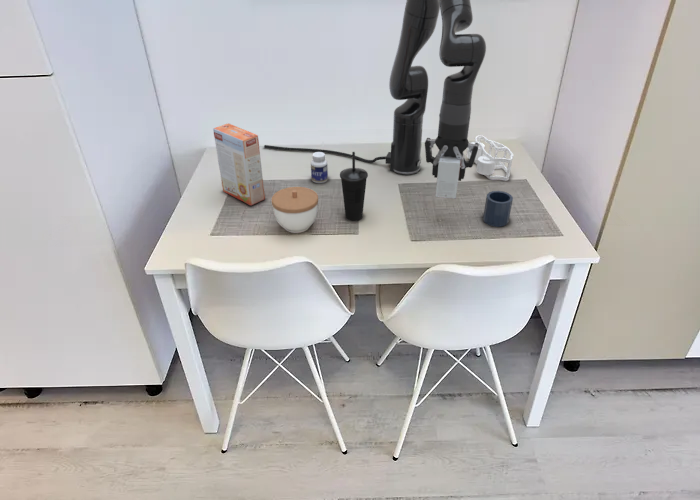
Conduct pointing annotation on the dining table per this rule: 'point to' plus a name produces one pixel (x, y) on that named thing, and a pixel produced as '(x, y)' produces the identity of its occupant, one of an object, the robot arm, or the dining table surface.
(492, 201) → the coffee cup
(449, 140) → the robot arm
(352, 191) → the drinking cup
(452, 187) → the small box
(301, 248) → the dining table surface
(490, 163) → the skeletal toy car
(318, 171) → the pill bottle
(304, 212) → the lidded bowl
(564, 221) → the dining table surface
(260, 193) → the cracker box
